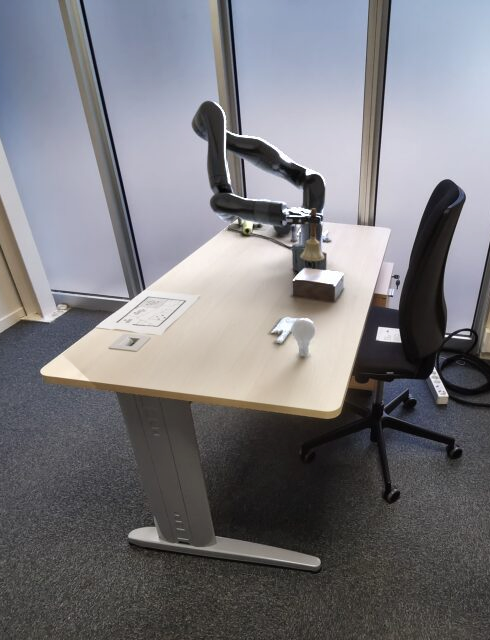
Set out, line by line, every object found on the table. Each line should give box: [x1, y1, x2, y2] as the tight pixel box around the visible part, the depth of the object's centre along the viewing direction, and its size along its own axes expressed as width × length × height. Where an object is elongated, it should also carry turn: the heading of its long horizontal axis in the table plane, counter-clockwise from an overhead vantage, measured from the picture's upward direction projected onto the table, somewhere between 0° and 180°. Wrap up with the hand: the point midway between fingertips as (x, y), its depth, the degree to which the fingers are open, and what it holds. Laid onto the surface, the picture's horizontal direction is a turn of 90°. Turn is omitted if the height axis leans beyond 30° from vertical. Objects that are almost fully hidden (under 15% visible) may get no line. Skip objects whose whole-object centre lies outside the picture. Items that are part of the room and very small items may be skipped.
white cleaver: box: [270, 316, 298, 344], centre depth 132 cm, size 5×15×1 cm, turn 168°
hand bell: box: [300, 208, 325, 261], centre depth 146 cm, size 8×8×16 cm
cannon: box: [236, 217, 262, 236], centre depth 217 cm, size 25×12×11 cm, turn 6°
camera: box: [291, 242, 328, 273], centre depth 170 cm, size 16×4×10 cm, turn 47°
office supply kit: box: [272, 206, 331, 243], centre depth 220 cm, size 40×28×9 cm
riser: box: [292, 268, 345, 303], centre depth 156 cm, size 15×13×6 cm
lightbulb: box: [290, 317, 316, 357], centre depth 118 cm, size 6×6×11 cm
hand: (321, 219), depth 143 cm, fingers closed on hand bell, 2 cm apart
